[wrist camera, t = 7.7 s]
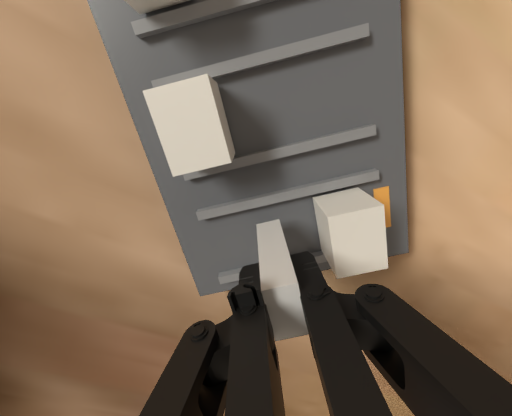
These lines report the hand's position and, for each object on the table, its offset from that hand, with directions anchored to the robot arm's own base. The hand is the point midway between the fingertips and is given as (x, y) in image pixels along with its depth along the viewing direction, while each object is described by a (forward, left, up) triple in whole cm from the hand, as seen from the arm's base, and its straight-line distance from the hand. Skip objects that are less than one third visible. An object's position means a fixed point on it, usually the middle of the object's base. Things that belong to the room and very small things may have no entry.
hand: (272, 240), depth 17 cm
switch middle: (-2, +8, -1) cm, 8 cm away
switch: (+5, 0, -1) cm, 5 cm away
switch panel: (+2, +8, -4) cm, 9 cm away
